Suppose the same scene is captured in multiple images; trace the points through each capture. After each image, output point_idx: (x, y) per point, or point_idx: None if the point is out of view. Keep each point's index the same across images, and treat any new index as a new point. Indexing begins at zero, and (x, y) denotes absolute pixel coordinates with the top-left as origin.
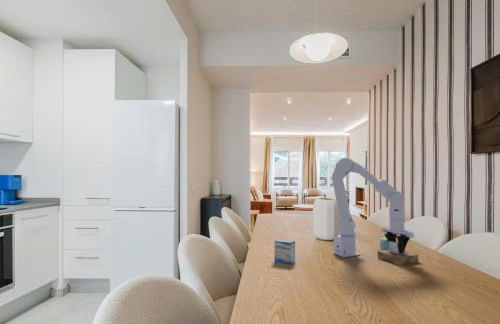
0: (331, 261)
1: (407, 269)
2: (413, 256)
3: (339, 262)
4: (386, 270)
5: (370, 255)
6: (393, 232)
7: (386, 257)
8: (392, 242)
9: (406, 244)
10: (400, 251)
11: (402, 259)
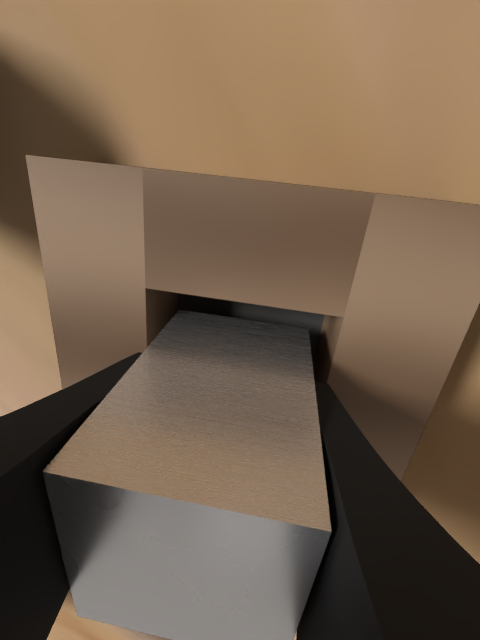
0: (78, 633)
1: (460, 519)
2: (458, 327)
3: (107, 627)
4: None
5: (22, 397)
6: None
7: None
8: (166, 625)
9: (417, 504)
10: None
11: None
